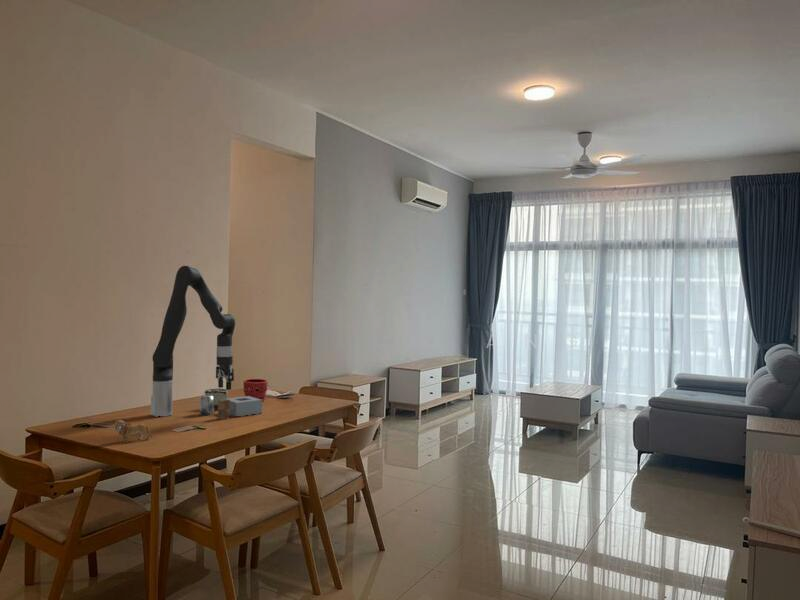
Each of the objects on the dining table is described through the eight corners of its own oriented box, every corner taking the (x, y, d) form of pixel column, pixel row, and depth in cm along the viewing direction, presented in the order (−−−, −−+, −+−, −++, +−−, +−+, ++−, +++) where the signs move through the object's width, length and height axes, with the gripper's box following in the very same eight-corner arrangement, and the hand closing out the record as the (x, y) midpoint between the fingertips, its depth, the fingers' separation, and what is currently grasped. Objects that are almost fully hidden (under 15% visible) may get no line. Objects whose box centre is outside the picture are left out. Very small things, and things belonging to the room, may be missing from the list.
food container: (231, 407, 319) (231, 388, 319) (226, 409, 313) (227, 390, 313) (209, 406, 320) (209, 388, 320) (204, 409, 314) (204, 389, 314)
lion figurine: (115, 444, 240) (115, 422, 239) (112, 441, 244) (112, 419, 244) (154, 439, 248) (154, 417, 248) (150, 437, 253) (150, 415, 253)
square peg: (221, 419, 289) (222, 400, 288) (218, 418, 292) (218, 399, 291) (229, 418, 291) (229, 400, 291) (225, 417, 294) (226, 398, 294)
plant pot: (240, 403, 331) (241, 381, 331) (246, 399, 344) (246, 378, 344) (264, 403, 332) (265, 382, 331) (269, 399, 345) (269, 378, 345)
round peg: (203, 416, 297) (203, 397, 296) (197, 413, 301) (197, 396, 301) (215, 414, 301) (216, 396, 301) (210, 412, 306) (210, 394, 306)
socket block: (236, 417, 295) (236, 402, 295) (223, 412, 305) (223, 398, 305) (261, 413, 304) (262, 399, 304) (248, 409, 314) (248, 396, 314)
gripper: (210, 354, 294) (210, 387, 294) (224, 357, 284) (224, 391, 284) (225, 353, 299) (225, 386, 299) (238, 355, 289) (238, 389, 289)
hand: (224, 388), depth 292 cm, fingers open, 8 cm apart
